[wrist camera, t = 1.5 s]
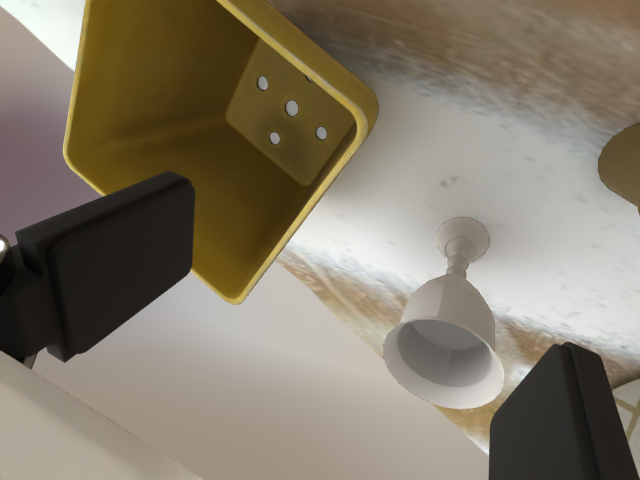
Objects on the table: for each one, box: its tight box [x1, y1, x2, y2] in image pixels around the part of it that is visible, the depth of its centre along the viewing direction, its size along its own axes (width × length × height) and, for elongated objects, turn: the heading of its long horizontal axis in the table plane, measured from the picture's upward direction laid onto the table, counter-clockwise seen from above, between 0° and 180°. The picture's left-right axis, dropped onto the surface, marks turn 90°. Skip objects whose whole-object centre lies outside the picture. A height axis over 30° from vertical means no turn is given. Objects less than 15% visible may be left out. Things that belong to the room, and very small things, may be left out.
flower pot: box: [63, 0, 379, 305], centre depth 32 cm, size 19×19×17 cm
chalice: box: [383, 217, 505, 409], centre depth 30 cm, size 7×7×18 cm
